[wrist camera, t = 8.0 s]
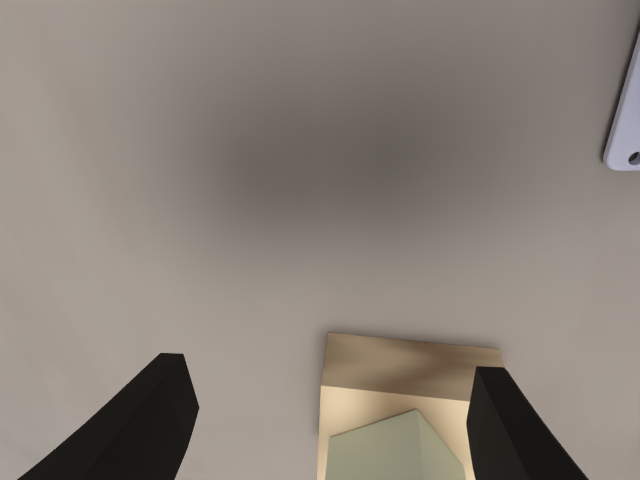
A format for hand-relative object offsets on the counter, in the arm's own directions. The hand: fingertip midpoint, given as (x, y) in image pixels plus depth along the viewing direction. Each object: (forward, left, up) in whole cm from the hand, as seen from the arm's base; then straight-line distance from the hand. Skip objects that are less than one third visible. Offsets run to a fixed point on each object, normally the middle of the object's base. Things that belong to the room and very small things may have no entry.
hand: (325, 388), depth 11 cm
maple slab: (-3, +12, -10) cm, 16 cm away
